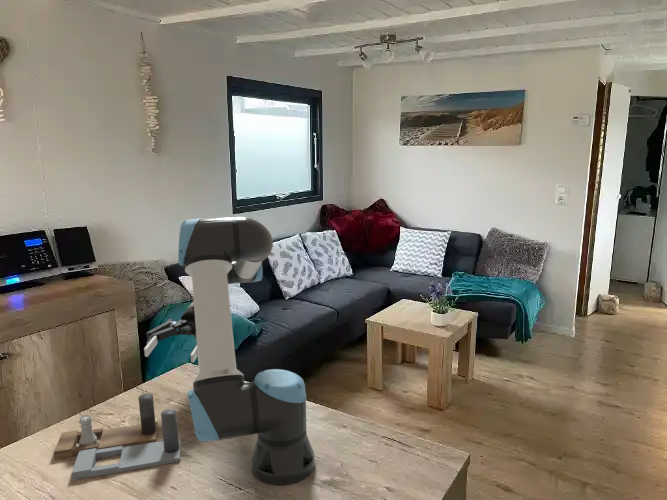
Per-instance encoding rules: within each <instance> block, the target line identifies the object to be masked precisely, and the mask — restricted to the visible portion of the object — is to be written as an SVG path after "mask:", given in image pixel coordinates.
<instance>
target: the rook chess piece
mask: <svg viewBox="0 0 667 500" xmlns="http://www.w3.org/2000/svg"><path fill="white" fill-rule="evenodd" d="M92 422H93V417H91V414H85V415H82V416H80V417H79V421H78V423H79V424H80V429H81V432H82V435H81V437H80V440H78V447H79V446H85V445H92V444H98V437H97V436H95V434H94V433H93V430H94V429H93V427H92V426H93V423H92Z"/></svg>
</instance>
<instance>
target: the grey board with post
mask: <svg viewBox="0 0 667 500" xmlns="http://www.w3.org/2000/svg"><path fill="white" fill-rule="evenodd" d="M160 416H161V417H160V418H161V428H162V440H159V441H157V442H153V443H147V444H141V445H135V446H128V447H123V446H117V447H111V448H105V449H99V450H97V448H94V449H88V450H82V451H79V453H78V455H77V456H76V459H75V462H74V465H73V469H72V471H71V476H72V481H76V480H83V479H87V478H88V479H89V478H92V477H93V478H94V477H99V476H105V475H111V474H116V473H123V472H127V471H133V470H138V469H144V468H149V467H150V468H151V467H156V466H161V465H166V464H172V463H177V462H178V463H179V462H181V438H180V437H179V431H178V430H179V428H178V419H177V418H178V416H177V410H176V409H174V408H168V409H165V410H163V411H162V412H161V413H160ZM119 455H120V459H119V462H116V463H109V464H104V465H99V466H96V462H97V459H103V458H109V457H115V456H119Z"/></svg>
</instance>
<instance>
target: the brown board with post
mask: <svg viewBox="0 0 667 500" xmlns="http://www.w3.org/2000/svg"><path fill="white" fill-rule="evenodd" d="M138 405H139V406H138V407H139V416H140V417H139V418H140V423H139V424H134V425H133V424H132V425H126V426H122V427H115V428H107V429H104V428H103V427H101V428H96V429H92V430H93V433H94V434H95V436H97V438H99V437H100V440H99V443H98V442H97V444H92V445H85V446H79V445H78V446H77V444H78V443H79V440H80V437H81V435H82V431H79V430H71V431H66V432H61V433H60V436H59V438H58V441H57V443H56V446H55V449H54V451H53V455H54V460H57V459H63V458H69V457H70V458H71V457H77V456H78V453H79V451H82V450H88V449H94V448H97V450H99V449H105V448H111V447H117V446H123V447H128V446H135V445H141V444H147V443H153V442H158V427H159V422H158V421H156V415H155V414H156V413H155V404H154V395H153V394H152V393H144V394H141V395H139V397H138Z"/></svg>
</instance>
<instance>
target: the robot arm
mask: <svg viewBox="0 0 667 500" xmlns="http://www.w3.org/2000/svg"><path fill="white" fill-rule="evenodd" d="M179 228H180V229H179V236H178V257H177V258H178V260H177V261H178V265H179V266H182V267H184V272H185V273H186V274H187V275H188V276H189V277H190V278H191V282H192V297H193V301H192V302H191V303H190V305H189V306H187V308H186V310H185V311H184V312H183V314H182V315H181V317H180V319H179V320H177V321H174V319H173V318H169V319H167V320H166V321H165V322H163V323H162V324H160V325H158V326H156V327H154V328H152V329H150V330H148V331H147V332H146V340H147V341H146V345H145V346H144V348H143V351H144V357H146V358H148V357H149V356H150V355H151V354H152V352H153V350H154V349H155V347H156V346H157V345H158V342H159V341H162V340H165V339H168V338H170V337H173V336H175V337H177V336H180V335H182V336H183V335H186V336H193V337H194V339H196V345H195V347H194V348H193V350H192V351H191V353H190V363H195V361H196V360H198V361H197V362H198V374H197V376H196V377H195V379H194V380H193V381H192V385H193V389H190V390H188V391H187V399H188V403H189V408H190V413H191V418H192V424H193V428H194V433H195V438H196V439H197V440H198V441H199V442H202V443H206V442H215V441H217V442H219V441H223V440H226V439H233V438H238V437H245V436H250V435H257V439H256V442H255V443H256V444H255V447H254V450H253V453H252V456H251V471H252V473H253V475H254V477H255V478H256V479H257V480H259V481H260V482H263V483H265V484H269V485H275V486H285V485H291V484H294V483H298V482H300V481H302V480H305V478H307V477H308V476H309V475H311V473H312V472H313V471H314V468H315V465H316V464H315V461H316V460H315V451H314V449H313V447H312V444H311V442H310V440H309V437H308V434H307V403H306V402H307V393H306V392H307V391H306V385H305V382H304V379H303V378H302V377H301V376H300V375H298V374H297V373H295V372H293V371H290V370H287V369H286V370H285V369H280V368H272V369H271V368H270V369H265V370H262V371H259V372H258V373H257V374H256V375H255V377H254V380H253V381H248V382H245V376H244V375H245V374H244V373H242V371H240V370H239V369H237V368H238V367H237V362H236V351H235V341H234V332H233V331H234V330H233V321H232V311H231V303H230V293H229V292H230V291H229V290H230V289H229V285H232V284H243V283H244V284H246V283H250V284H251V283H256V282H260V281H262V280H263V275H264V274H263V273H264V272H263V271H264V270H263V265H262V263H263V261H265V260H267V258H268V257H269V256H270V254H271V253H272V251H273V246H274V242H273V237H272V234H271V232H270V231H269V229H268V228H267V227H266V226H265V225H263V223H261V222H260V221H258V220H255V219H254V218H251V217H247V216H230V217H229V216H228V217H227V216H225V217H210V218H209V217H208V218H207V217H206V218H205V217H204V218H201V217H198V218H192V219H186V220H184V221H183V222H182V223H181V225H180V227H179Z"/></svg>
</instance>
